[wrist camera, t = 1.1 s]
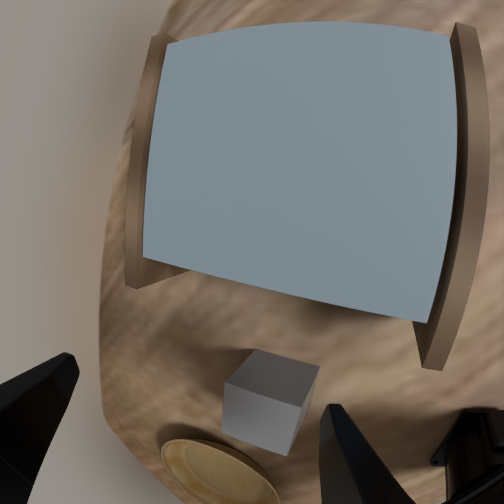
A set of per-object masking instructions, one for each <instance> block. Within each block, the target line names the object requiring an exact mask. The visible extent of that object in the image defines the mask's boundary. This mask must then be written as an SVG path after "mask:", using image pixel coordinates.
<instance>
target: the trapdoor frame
mask: <svg viewBox="0 0 504 504" xmlns="http://www.w3.org/2000/svg"><path fill="white" fill-rule="evenodd" d="M177 41H178V40H176V39H174V38H173V37H171V36H169V35H168V34H166V33H161V34H158V35H155V36H153V37H152V38H151V42H150V46H149V50H148V54H147V58H146V63H145V67H144V72H143V77H142V82H141V87H140V92H139V98H138V103H137V109H136V116H135V122H134V129H133V137H132V144H131V153H130V162H129V173H128V185H127V200H126V221H125V285H127V286H129V287H132V288H135V289H139V288H142V287H145V286H147V285H150V284H153V283H156V282H159V281H161V280H164V279H167V278H170V277H173V276H175V275H178V274H181V273H184V272H187V271H189V269H185V268H182V267H178V266H174V265H171V264H167V263H163V262H159V261H156V260H152V259H149V258H145V257H143V228H144V208H145V193H146V180H147V169H148V159H149V150H150V142H151V134H152V127H153V120H154V113H155V107H156V100H157V95H158V89H159V83H160V78H161V73H162V68H163V63H164V58H165V54H166V49H167V45H168V44H170V43H174V42H177ZM450 47H451V53H452V61H453V69H454V78H455V90H456V108H457V155H456V173H455V186H454V196H453V205H452V213H451V220H450V226H449V233H448V239H447V244H446V249H445V254H444V259H443V264H442V269H441V273H440V277H439V281H438V285H437V289H436V293H435V297H434V301H433V304H432V308H431V311H430V314H429V318H428V321H427V323H422V322H417V321H412V323H413V327H414V331H415V336H416V340H417V345H418V350H419V355H420V360H421V365H422V368H426V369H432V370H438V371H442V370H443V367H444V365H445V362H446V360H447V358H448V355H449V353H450V350H451V348H452V345H453V342H454V340H455V337H456V334H457V331H458V328H459V325H460V322H461V319H462V316H463V313H464V310H465V307H466V303H467V300H468V296H469V293H470V289H471V285H472V281H473V277H474V273H475V269H476V265H477V260H478V255H479V250H480V245H481V239H482V233H483V227H484V220H485V213H486V204H487V194H488V181H489V161H490V130H489V110H488V98H487V88H486V80H485V73H484V66H483V60H482V55H481V50H480V45H479V40H478V36H477V31H476V28H474V27H471V26H468V25H464V24H461V23H457V22H456V23H455V26H454V29H453V32H452V35H451V38H450Z"/></svg>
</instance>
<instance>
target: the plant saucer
mask: <svg viewBox="0 0 504 504" xmlns="http://www.w3.org/2000/svg"><path fill="white" fill-rule="evenodd" d="M161 457H162V461H163V464H164V466H165V468H166V470H167V471H168V473H169V474H170V476H171V477H172V478H173V479H174V480H175V482H176V483H177V484H178V485H179V486H180V487H181V488H183V489H184V490H185V491H186V492H187V493H188V494H190V495H191V496H192V497H194V498H195V499H197V500H198V501H200V502H202V503H203V504H280V499H279V496H278V493H277V491H276V489H275V487H274V485H273V483H272V482H271V480H270V479H269V477H268V476H267V474H266V473H265V472H264V471H263V470H262V469H261V468H260V467H259V466H258V465H257V464H256V463H255V462H254V461H252V460H251V459H250V458H248V457H247V456H245V455H243V454H242V453H240V452H238V451H236V450H234V449H232V448H230V447H228V446H225V445H222V444H220V443H216V442H212V441H207V440H199V439H175V440H171V441H168V442H166V443H165V444H164V445H163V447H162V449H161Z"/></svg>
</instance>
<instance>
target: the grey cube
mask: <svg viewBox="0 0 504 504" xmlns="http://www.w3.org/2000/svg"><path fill="white" fill-rule="evenodd" d="M319 369H320V367H319V366H315V365H311V364H308V363H304V362H300V361H296V360H293V359H289V358H286V357H282V356H279V355H275V354H272V353H269V352H265V351H262V350H259V349H255V351H254V352H253V353H252V354H251V355H250V356H249V357H248V358H247V359H246V360H245V361H244V362H243V363H242V364H241V365H240V367H239V368H238V369H237V370H236V371H235V372H234V373H233V374H232V375H231V376H230V377H229V378H228V379H227V380H226V381H225V385H224V398H223V412H222V427H221V433H224V434H226V435H229V436H231V437H233V438H236V439H238V440H241V441H244V442H246V443H249V444H252V445H254V446H257V447H260V448H263V449H265V450H268V451H271V452H274V453H277V454H281V455H284V456H287V455H288V453H289V451H290V449H291V447H292V445H293V443H294V440H295V438H296V436H297V434H298V432H299V430H300V428H301V426H302V424H303V421H304V419H305V417H306V414H307V411H308V408H309V405H310V401H311V398H312V394H313V391H314V387H315V384H316V380H317V377H318V373H319Z"/></svg>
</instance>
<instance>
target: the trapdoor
mask: <svg viewBox="0 0 504 504" xmlns="http://www.w3.org/2000/svg"><path fill="white" fill-rule="evenodd" d="M456 155H457V108H456V90H455V78H454V69H453V61H452V53H451V47H450V41H449V36H446V35H442V34H437V33H432V32H428V31H422V30H417V29H411V28H405V27H398V26H390V25H381V24H370V23H356V22H295V23H280V24H269V25H260V26H252V27H245V28H238V29H232V30H226V31H221V32H216V33H211V34H206V35H202V36H197V37H193V38H189V39H185V40H181V41H177V42H174V43H170V44H168V45H167V49H166V54H165V58H164V63H163V68H162V73H161V78H160V83H159V89H158V95H157V100H156V107H155V113H154V120H153V127H152V134H151V142H150V150H149V159H148V169H147V180H146V193H145V208H144V228H143V257H145V258H149V259H152V260H156V261H159V262H163V263H167V264H171V265H174V266H178V267H182V268H185V269H189V270H193V271H197V272H201V273H204V274H208V275H212V276H216V277H220V278H224V279H228V280H232V281H236V282H240V283H244V284H248V285H252V286H256V287H260V288H264V289H269V290H273V291H277V292H281V293H285V294H290V295H294V296H298V297H303V298H307V299H311V300H316V301H320V302H325V303H329V304H334V305H338V306H343V307H348V308H352V309H357V310H362V311H367V312H371V313H376V314H381V315H386V316H391V317H396V318H401V319H406V320H411V321H417V322H422V323H427V321H428V318H429V314H430V311H431V308H432V304H433V301H434V297H435V293H436V289H437V285H438V281H439V277H440V273H441V269H442V264H443V259H444V254H445V249H446V244H447V239H448V233H449V226H450V220H451V213H452V205H453V196H454V186H455V173H456Z"/></svg>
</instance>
